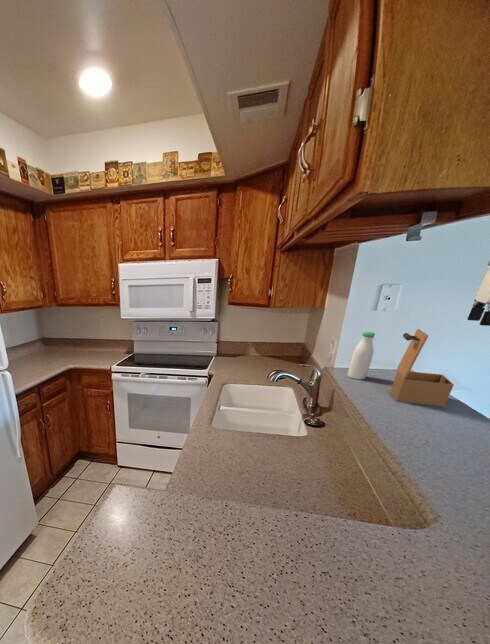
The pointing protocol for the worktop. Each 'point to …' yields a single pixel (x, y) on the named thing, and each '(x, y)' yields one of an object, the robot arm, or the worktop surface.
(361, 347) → the milk bottle
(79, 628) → the worktop surface
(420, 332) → the flap
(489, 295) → the robot arm
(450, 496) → the worktop surface
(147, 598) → the worktop surface
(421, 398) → the carton
